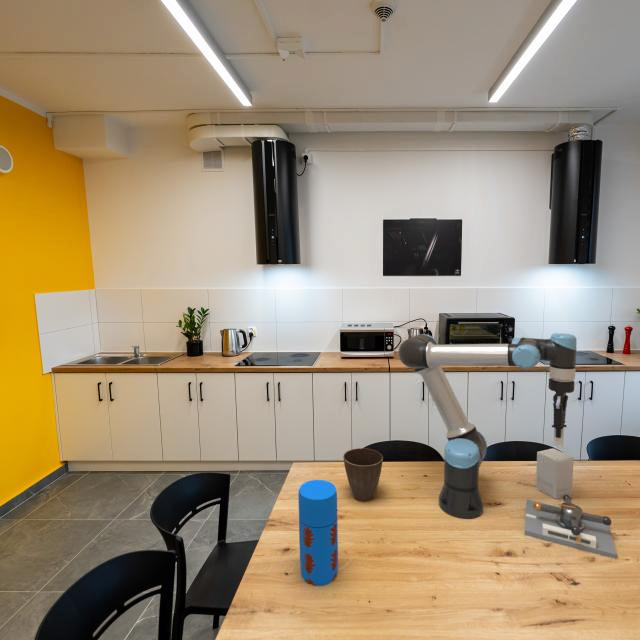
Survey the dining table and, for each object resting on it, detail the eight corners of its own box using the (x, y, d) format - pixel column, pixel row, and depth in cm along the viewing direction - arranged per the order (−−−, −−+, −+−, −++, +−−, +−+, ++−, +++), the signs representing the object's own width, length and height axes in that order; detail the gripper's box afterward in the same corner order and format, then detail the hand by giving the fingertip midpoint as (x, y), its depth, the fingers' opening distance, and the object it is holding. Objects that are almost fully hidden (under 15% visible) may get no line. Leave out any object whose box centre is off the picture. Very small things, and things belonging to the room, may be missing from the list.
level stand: (524, 535, 127) (524, 524, 127) (526, 503, 145) (526, 493, 144) (616, 560, 115) (617, 548, 115) (606, 521, 133) (607, 511, 133)
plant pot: (338, 503, 147) (338, 462, 146) (350, 483, 161) (349, 445, 159) (378, 510, 142) (378, 468, 140) (386, 489, 156) (386, 451, 154)
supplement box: (573, 494, 150) (575, 457, 148) (555, 499, 147) (557, 461, 145) (551, 483, 158) (553, 447, 157) (534, 487, 155) (536, 451, 154)
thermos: (325, 592, 106) (323, 504, 103) (292, 576, 111) (290, 493, 109) (344, 566, 115) (343, 485, 112) (313, 553, 120) (312, 476, 118)
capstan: (619, 556, 115) (620, 535, 114) (535, 536, 124) (535, 517, 123) (603, 515, 134) (604, 497, 133) (531, 501, 143) (531, 484, 142)
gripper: (552, 373, 142) (549, 436, 144) (545, 381, 132) (542, 449, 134) (577, 376, 137) (573, 441, 140) (571, 385, 127) (568, 455, 130)
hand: (558, 445), depth 137 cm, fingers closed
